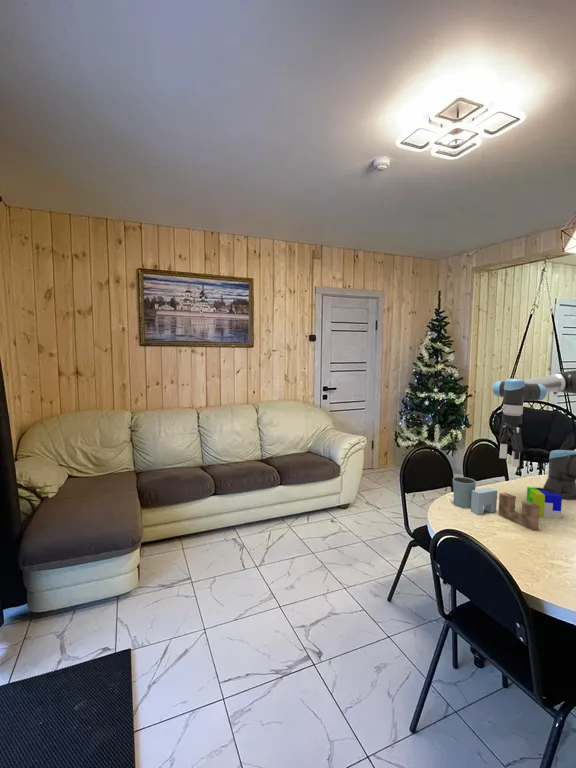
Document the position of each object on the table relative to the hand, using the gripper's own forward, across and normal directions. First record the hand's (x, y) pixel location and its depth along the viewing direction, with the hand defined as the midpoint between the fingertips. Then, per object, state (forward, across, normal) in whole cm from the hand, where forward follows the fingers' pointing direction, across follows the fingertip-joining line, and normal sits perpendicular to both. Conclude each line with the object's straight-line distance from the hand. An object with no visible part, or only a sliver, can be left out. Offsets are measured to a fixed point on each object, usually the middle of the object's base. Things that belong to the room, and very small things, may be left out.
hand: (508, 462), depth 166 cm
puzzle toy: (+25, -8, +19) cm, 32 cm away
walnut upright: (+25, +5, +3) cm, 25 cm away
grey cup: (+25, -11, -14) cm, 31 cm away
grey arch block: (+25, -4, -8) cm, 26 cm away
